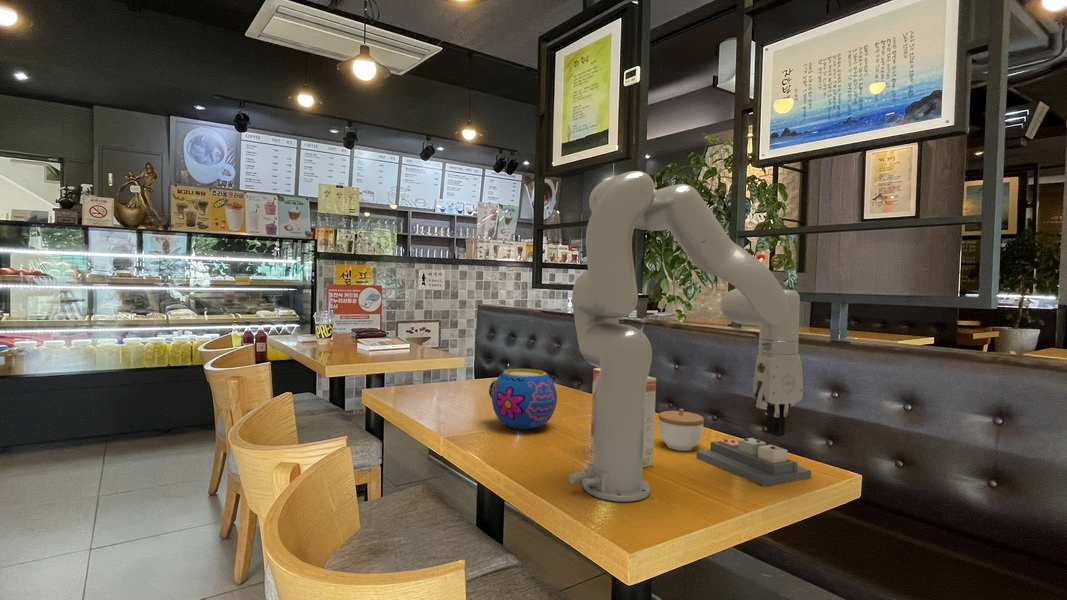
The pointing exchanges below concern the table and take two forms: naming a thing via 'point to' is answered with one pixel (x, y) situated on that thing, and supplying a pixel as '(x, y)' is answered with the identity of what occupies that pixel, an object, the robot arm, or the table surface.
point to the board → (752, 465)
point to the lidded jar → (680, 429)
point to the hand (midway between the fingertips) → (775, 434)
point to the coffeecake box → (647, 423)
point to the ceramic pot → (523, 398)
